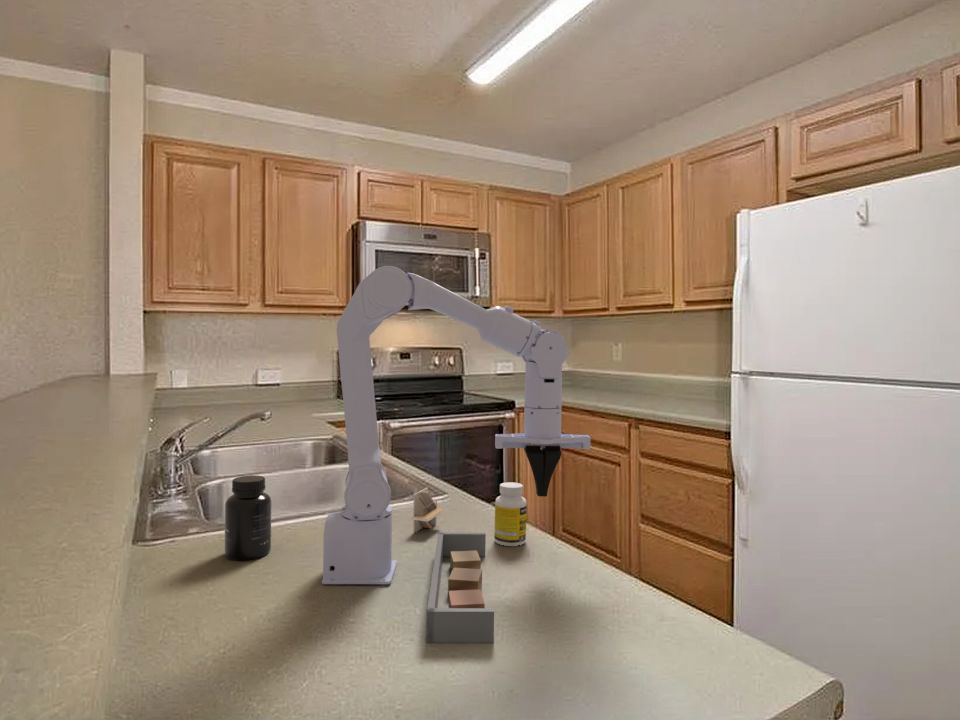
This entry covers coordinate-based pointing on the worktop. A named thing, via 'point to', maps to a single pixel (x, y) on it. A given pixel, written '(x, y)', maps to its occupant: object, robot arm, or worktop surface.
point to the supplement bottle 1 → (248, 519)
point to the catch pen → (457, 621)
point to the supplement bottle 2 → (510, 515)
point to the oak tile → (465, 560)
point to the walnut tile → (465, 579)
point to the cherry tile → (466, 599)
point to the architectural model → (424, 510)
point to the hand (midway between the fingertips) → (541, 494)
